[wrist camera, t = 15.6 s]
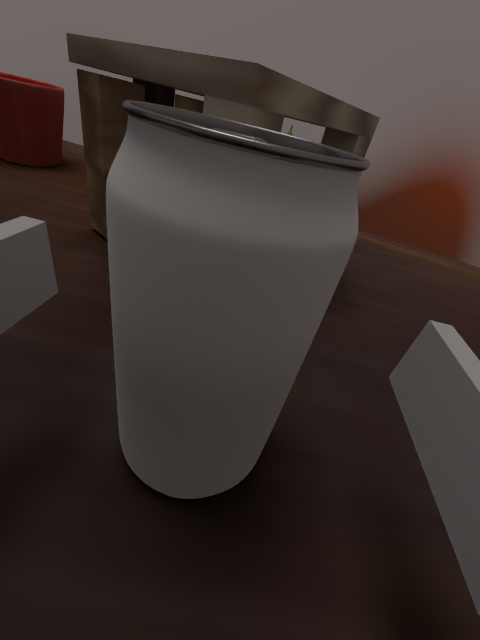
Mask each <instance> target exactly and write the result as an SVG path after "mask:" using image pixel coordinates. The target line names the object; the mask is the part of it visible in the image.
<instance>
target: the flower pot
mask: <svg viewBox="0 0 480 640" xmlns="http://www.w3.org/2000/svg"><path fill="white" fill-rule="evenodd" d="M63 117H64V89H63V88H61V87H58V86H54V85H52V84H48V83H44V82H40V81H35V80H31V79H28V78H23V77H19V76H14V75H11V74H6V73H2V72H0V158H1V159H4V160H6V161H9V162H13V163H16V162H17V163H19V164H22V165H29V166H41V167H49V166H56V165H59V164H60V163H61V155H62V137H63Z"/></svg>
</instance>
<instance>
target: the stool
mask: <svg viewBox="0 0 480 640" xmlns="http://www.w3.org/2000/svg"><path fill="white" fill-rule="evenodd" d="M66 35H67V44H68V55H69V62H73V63H77V64H81V65H85V66H89V67H92V68H96V69H100V70H104V71H108V72H112V73H115V74H119V75H123V76H127V77H131V78H133V83H136V84H140V85H144V86H145V102H148V103H153V104H159V105H164V106H169V107H174V100H175V89H177V90H181V91H185V92H188V93H192V94H196V95H200V96H204V105H203V114H207V115H211V116H216V117H220V118H224V119H228V120H232V121H237V122H241V123H245V124H249V125H253V126H257V127H261V128H265V129H269V130H273V131H276V132H281V128H282V124H283V120H284V117H287V118H291V119H295V120H299V121H303V122H307V123H311V124H315V125H319V126H323V127H326V129H325V132H324V135H323V138H322V142H321V144H323V145H327V146H330V147H333V148H337V149H340V150H343V151H346V152H349V153H352V154H355V155H358V156H360V157H362V158H364V157H365V154H366V152H367V149H368V147H369V144H370V142H371V139H372V137H373V134H374V132H375V129H376V127H377V124H378V122H379V119H380V118H379V117H377V116H374V115H372V114H370V113H368V112H365V111H363V110H361V109H359V108H357V107H354V106H352V105H350V104H348V103H345V102H343V101H341V100H339V99H336V98H334V97H332V96H330V95H327V94H325V93H323V92H321V91H318V90H316V89H314V88H312V87H310V86H307V85H305V84H303V83H301V82H298V81H296V80H294V79H292V78H289V77H287V76H285V75H283V74H280V73H278V72H275V71H274V70H271V69H269V68H267V67H264V66H262V65H260V64H258V63H253V62H246V61H240V60H234V59H227V58H221V57H215V56H208V55H202V54H196V53H189V52H183V51H177V50H171V49H164V48H158V47H151V46H145V45H139V44H132V43H126V42H120V41H113V40H108V39H101V38H95V37H89V36H82V35H76V34H70V33H67V34H66Z"/></svg>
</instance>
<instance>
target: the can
mask: <svg viewBox="0 0 480 640" xmlns="http://www.w3.org/2000/svg"><path fill="white" fill-rule="evenodd" d="M123 109H124V110H125V112H127V113H128V122H127V130H126V134H125V137H124V139H123V142H122V144H121V146H120V148H119V150H118V152H117V155H116V157H115V159H114V161H113V163H112V166H111V168H110V171H109V174H108V177H107V182H106V218H107V238H108V258H109V276H110V294H111V312H112V329H113V345H114V362H115V378H116V394H117V409H118V423H119V435H120V443H121V448H122V451H123V454H124V457H125V459H126V461H127V463H128V465H129V466H130V468H131V469H132V471H133V472H134V473H135V474H136V475H137V476H138V477H139V478H140V479H141V480H142V481H143V482H144V483H145V484H147V485H148V486H150V487H151V488H153V489H155V490H157V491H159V492H161V493H163V494H165V495H168V496H171V497H175V498H181V499H196V498H203V497H208V496H212V495H215V494H218V493H221V492H224V491H226V490H228V489H230V488H232V487H234V486H235V485H237V484H238V483H239V482H240V481H242V480H243V479H244V478H245V477H246V476H247V475H248V474H249V472H250V471H251V470H252V468H253V467H254V465H255V464H256V462H257V460H258V458H259V456H260V454H261V452H262V450H263V448H264V446H265V444H266V441H267V439H268V437H269V435H270V433H271V431H272V429H273V426H274V424H275V422H276V420H277V418H278V416H279V413H280V411H281V409H282V407H283V405H284V402H285V400H286V398H287V396H288V394H289V391H290V389H291V387H292V385H293V383H294V381H295V378H296V376H297V374H298V372H299V370H300V367H301V365H302V363H303V361H304V358H305V356H306V354H307V352H308V350H309V347H310V345H311V343H312V341H313V339H314V336H315V334H316V332H317V330H318V328H319V325H320V323H321V321H322V319H323V316H324V314H325V312H326V310H327V308H328V305H329V303H330V301H331V299H332V296H333V294H334V292H335V290H336V287H337V285H338V283H339V281H340V278H341V276H342V274H343V271H344V269H345V267H346V264H347V262H348V260H349V257H350V255H351V252H352V250H353V247H354V244H355V241H356V238H357V233H358V203H357V190H358V183H359V179H360V176H361V173H362V171H364V170H366V169H367V168H368V167H369V165H370V163H369V161H368V160H367V159H365V158H362V157H360V156H358V155H355V154H352V153H349V152H346V151H343V150H340V149H337V148H333V147H330V146H327V145H323V144H320V143H317V142H313V141H309V140H306V139H302V138H298V137H295V136H291V135H288V134H284V133H280V132H276V131H273V130H269V129H265V128H261V127H257V126H253V125H249V124H245V123H241V122H237V121H232V120H228V119H224V118H220V117H216V116H211V115H207V114H202V113H198V112H193V111H189V110H184V109H179V108H174V107H169V106H164V105H159V104H153V103H148V102H141V101H132V100H127V101H124V102H123Z"/></svg>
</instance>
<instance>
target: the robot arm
mask: <svg viewBox="0 0 480 640" xmlns="http://www.w3.org/2000/svg"><path fill="white" fill-rule="evenodd" d="M56 293H58V289H57V283H56V278H55V272H54V267H53V261H52V256H51V250H50V244H49V239H48V233H47V228H46V222H45V221H41V220H37V219H33V218H29V217H25V216H21V217H19V218H16V219H13V220H10V221H7V222H4V223H2V224H0V335H1V334H2V333H3V332H5V331H6V330H7V329H9V328H10V327H11V326H13V325H14V324H16V323H17V322H18V321H20V320H21V319H22V318H24V317H25V316H26V315H28V314H29V313H30V312H32V311H33V310H35V309H36V308H37V307H39V306H40V305H41V304H43V303H44V302H45V301H47V300H48V299H50V298H51V297H52V296H54V295H55V294H56ZM389 379H390V382H391V385H392V387H393V390H394V392H395V395H396V398H397V400H398V403H399V406H400V408H401V411H402V414H403V416H404V419H405V422H406V424H407V427H408V430H409V432H410V435H411V437H412V440H413V443H414V445H415V448H416V451H417V453H418V456H419V459H420V461H421V464H422V467H423V469H424V472H425V475H426V477H427V480H428V482H429V485H430V488H431V490H432V493H433V496H434V498H435V501H436V504H437V506H438V509H439V512H440V514H441V517H442V520H443V522H444V525H445V528H446V530H447V533H448V535H449V538H450V541H451V543H452V546H453V549H454V551H455V554H456V557H457V559H458V562H459V565H460V567H461V570H462V573H463V575H464V578H465V580H466V583H467V586H468V588H469V591H470V594H471V596H472V599H473V602H474V604H475V607H476V610H477V612H478V615H480V361H479V359H478V358H477V357H476V356H475V354H474V353H473V352H472V350H471V349H470V348H469V347H468V345H467V344H466V343H465V341H464V340H463V339H462V338H461V336H460V335H459V334H458V333H457V331H456V330H455V329H454V327H453V326H451V325H447V324H443V323H439V322H435V321H431V320H429V322H428V323H427V325H426V326H425V327H424V329H423V330H422V332H421V333H420V334H419V336H418V337H417V338H416V340H415V341H414V343H413V344H412V345H411V347H410V348H409V350H408V351H407V352H406V354H405V355H404V356H403V358H402V359H401V361H400V362H399V363H398V365H397V366H396V368H395V369H394V370H393V372H392V373H391V374H390V376H389Z"/></svg>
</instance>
